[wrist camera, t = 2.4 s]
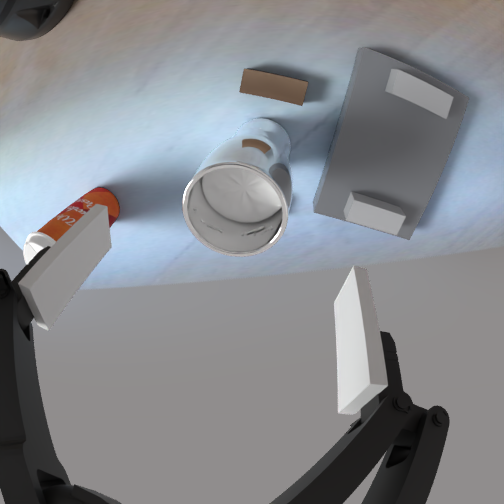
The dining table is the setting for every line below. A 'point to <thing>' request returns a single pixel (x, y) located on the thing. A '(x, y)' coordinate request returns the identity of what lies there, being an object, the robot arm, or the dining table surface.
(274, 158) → the beer glass
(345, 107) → the grey tray with risers
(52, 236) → the paper cup
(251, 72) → the twin wooden blocks
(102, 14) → the dining table surface
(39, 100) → the dining table surface
